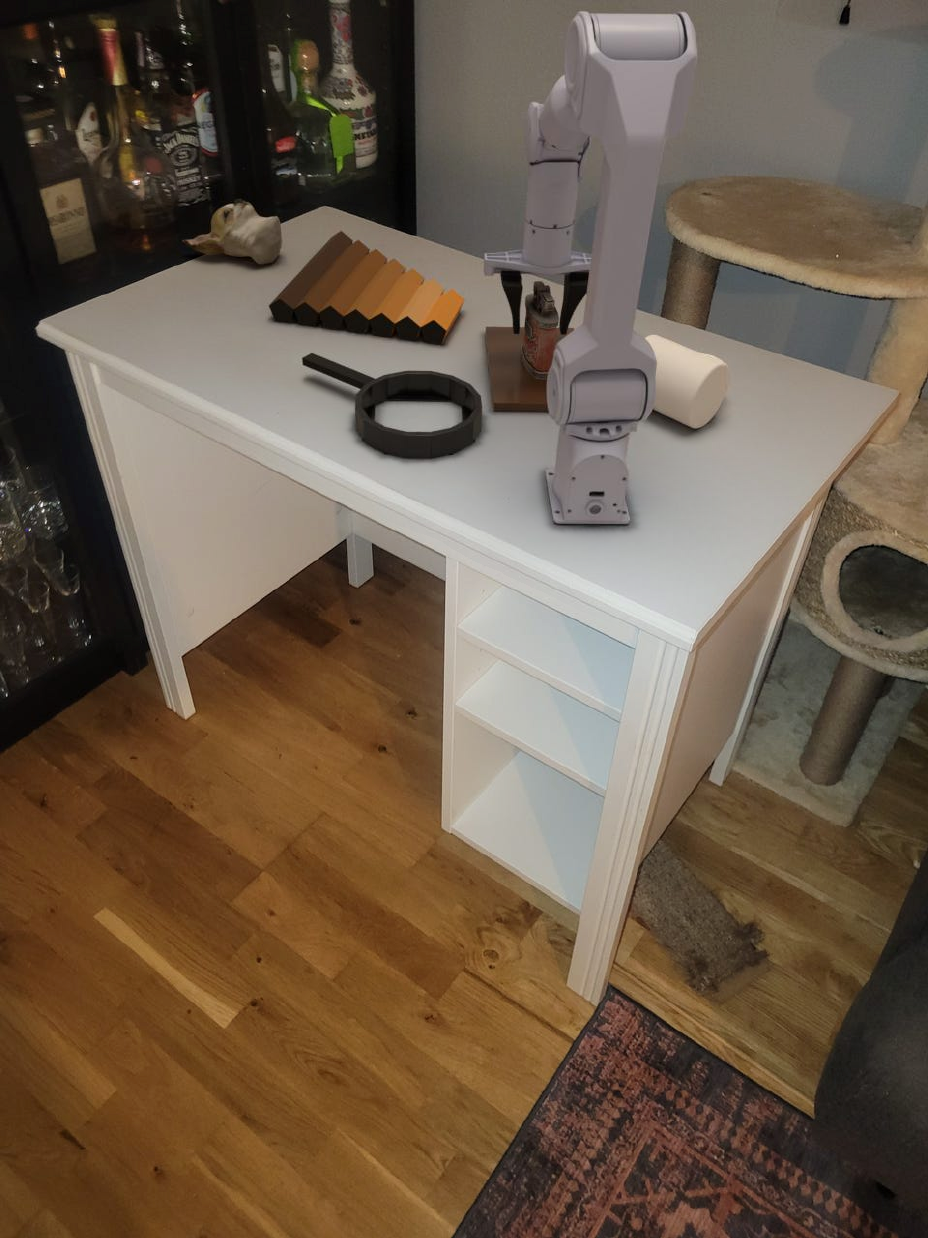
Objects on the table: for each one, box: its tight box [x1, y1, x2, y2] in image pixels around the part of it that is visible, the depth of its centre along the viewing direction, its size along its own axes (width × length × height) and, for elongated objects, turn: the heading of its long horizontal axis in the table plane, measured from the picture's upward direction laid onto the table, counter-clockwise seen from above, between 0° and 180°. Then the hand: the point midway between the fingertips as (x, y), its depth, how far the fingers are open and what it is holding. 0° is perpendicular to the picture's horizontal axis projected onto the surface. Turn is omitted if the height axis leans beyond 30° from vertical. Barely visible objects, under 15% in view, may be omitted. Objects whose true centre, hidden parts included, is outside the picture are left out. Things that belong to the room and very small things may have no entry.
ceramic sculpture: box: [182, 198, 283, 265], centre depth 143 cm, size 11×9×15 cm
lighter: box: [521, 280, 560, 379], centre depth 118 cm, size 8×3×10 cm, turn 12°
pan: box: [301, 352, 483, 459], centre depth 112 cm, size 19×22×3 cm
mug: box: [643, 334, 731, 429], centre depth 115 cm, size 12×10×8 cm
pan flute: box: [268, 230, 465, 346], centre depth 136 cm, size 25×3×25 cm
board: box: [484, 326, 575, 413], centre depth 122 cm, size 20×12×1 cm, turn 2°
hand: (539, 330), depth 118 cm, fingers open, 5 cm apart
